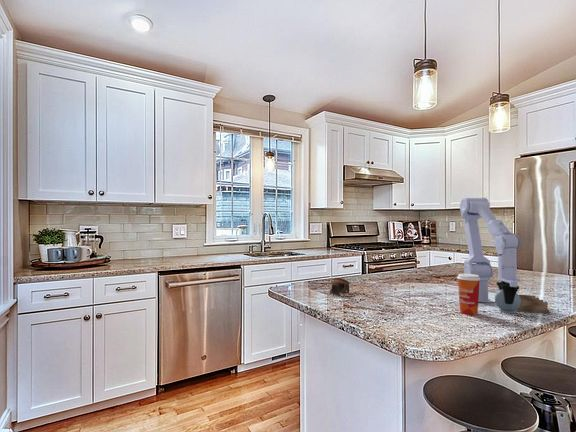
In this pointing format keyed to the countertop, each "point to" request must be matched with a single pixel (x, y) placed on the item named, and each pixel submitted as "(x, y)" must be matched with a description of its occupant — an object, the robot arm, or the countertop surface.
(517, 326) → the countertop surface
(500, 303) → the grey rounded disc
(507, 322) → the countertop surface
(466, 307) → the paper cup
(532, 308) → the rack
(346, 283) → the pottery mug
